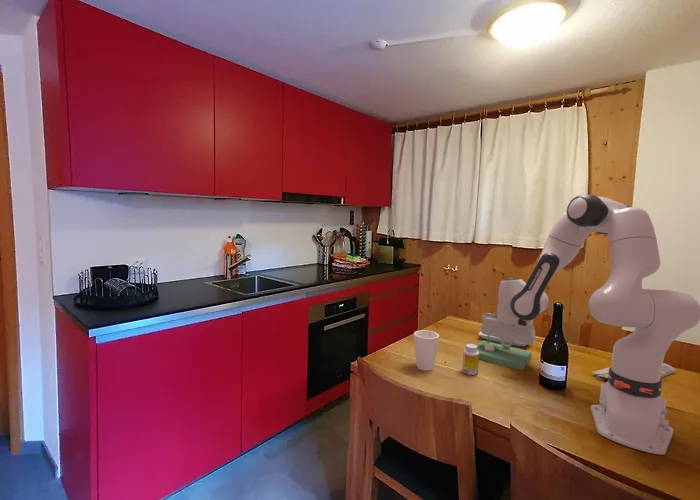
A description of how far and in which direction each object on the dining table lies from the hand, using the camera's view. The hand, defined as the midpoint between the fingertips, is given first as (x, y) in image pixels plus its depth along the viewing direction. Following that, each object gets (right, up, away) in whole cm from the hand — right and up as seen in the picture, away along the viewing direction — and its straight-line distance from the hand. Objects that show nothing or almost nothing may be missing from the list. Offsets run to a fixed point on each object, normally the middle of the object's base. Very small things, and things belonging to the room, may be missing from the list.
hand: (506, 349), depth 145 cm
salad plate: (+10, -2, +23) cm, 26 cm away
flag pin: (-2, 0, +12) cm, 12 cm away
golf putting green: (-2, -4, +1) cm, 4 cm away
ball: (-5, -1, +4) cm, 7 cm away
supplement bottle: (-19, -5, -13) cm, 24 cm away
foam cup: (-35, -4, -9) cm, 37 cm away
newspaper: (+43, -7, -12) cm, 45 cm away
